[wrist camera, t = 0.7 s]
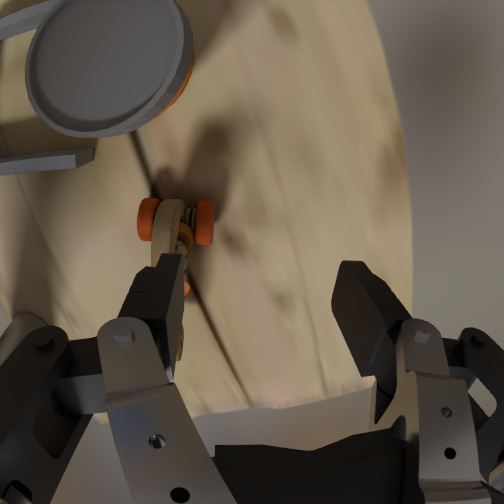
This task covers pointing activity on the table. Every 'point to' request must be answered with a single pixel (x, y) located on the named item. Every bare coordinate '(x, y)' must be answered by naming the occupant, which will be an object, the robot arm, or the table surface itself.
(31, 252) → the table surface
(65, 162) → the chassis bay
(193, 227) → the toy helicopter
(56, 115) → the reusable coffee cup
